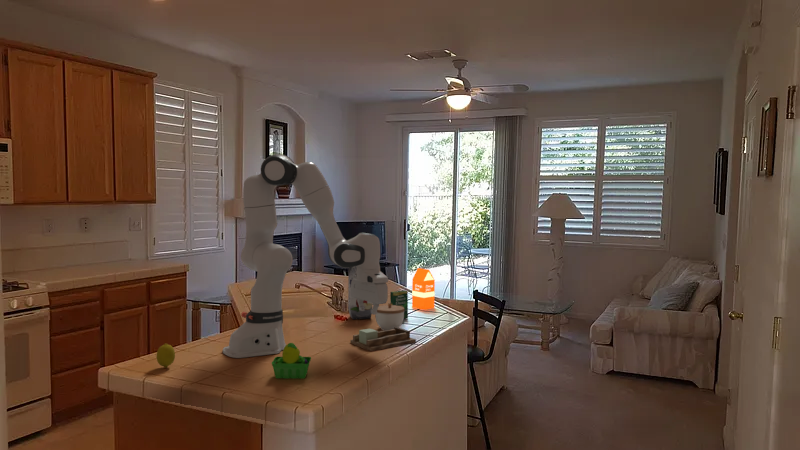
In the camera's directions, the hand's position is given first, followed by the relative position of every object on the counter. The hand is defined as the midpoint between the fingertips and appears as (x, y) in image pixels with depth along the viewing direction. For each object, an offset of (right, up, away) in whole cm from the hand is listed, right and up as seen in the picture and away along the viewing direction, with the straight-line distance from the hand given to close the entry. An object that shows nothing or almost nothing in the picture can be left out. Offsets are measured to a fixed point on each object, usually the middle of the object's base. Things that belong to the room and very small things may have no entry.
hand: (367, 312), depth 205 cm
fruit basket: (-22, -14, -36) cm, 44 cm away
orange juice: (+24, -10, +75) cm, 80 cm away
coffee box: (+12, -11, +47) cm, 50 cm away
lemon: (-64, -14, -28) cm, 71 cm away
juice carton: (-6, -11, +50) cm, 51 cm away
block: (0, -12, +1) cm, 12 cm away
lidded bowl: (+8, -12, +28) cm, 31 cm away
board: (+6, -13, +5) cm, 15 cm away
